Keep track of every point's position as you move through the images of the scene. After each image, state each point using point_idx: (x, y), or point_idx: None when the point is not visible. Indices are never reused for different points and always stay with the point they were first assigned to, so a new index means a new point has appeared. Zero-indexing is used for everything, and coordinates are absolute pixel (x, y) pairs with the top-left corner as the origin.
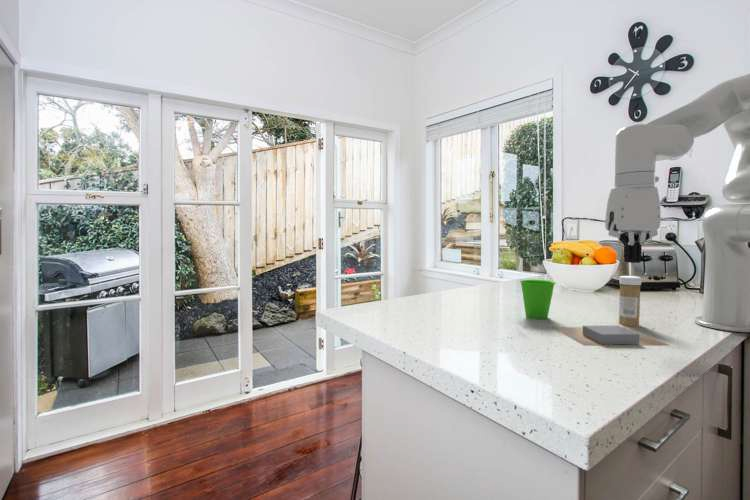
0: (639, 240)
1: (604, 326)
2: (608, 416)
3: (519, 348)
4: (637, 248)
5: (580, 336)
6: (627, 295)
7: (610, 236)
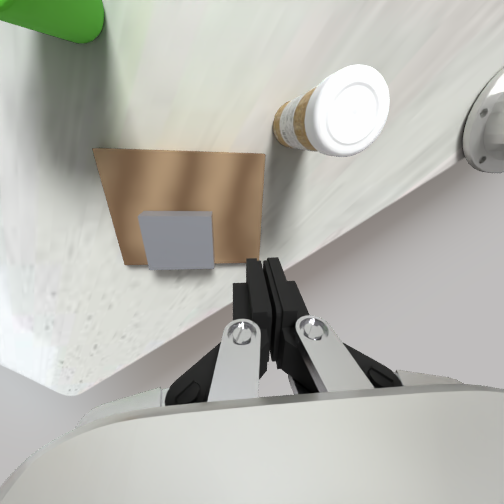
0: (294, 389)
1: (180, 222)
2: (95, 383)
3: (20, 250)
4: (270, 350)
5: (136, 220)
6: (300, 139)
7: (104, 407)
